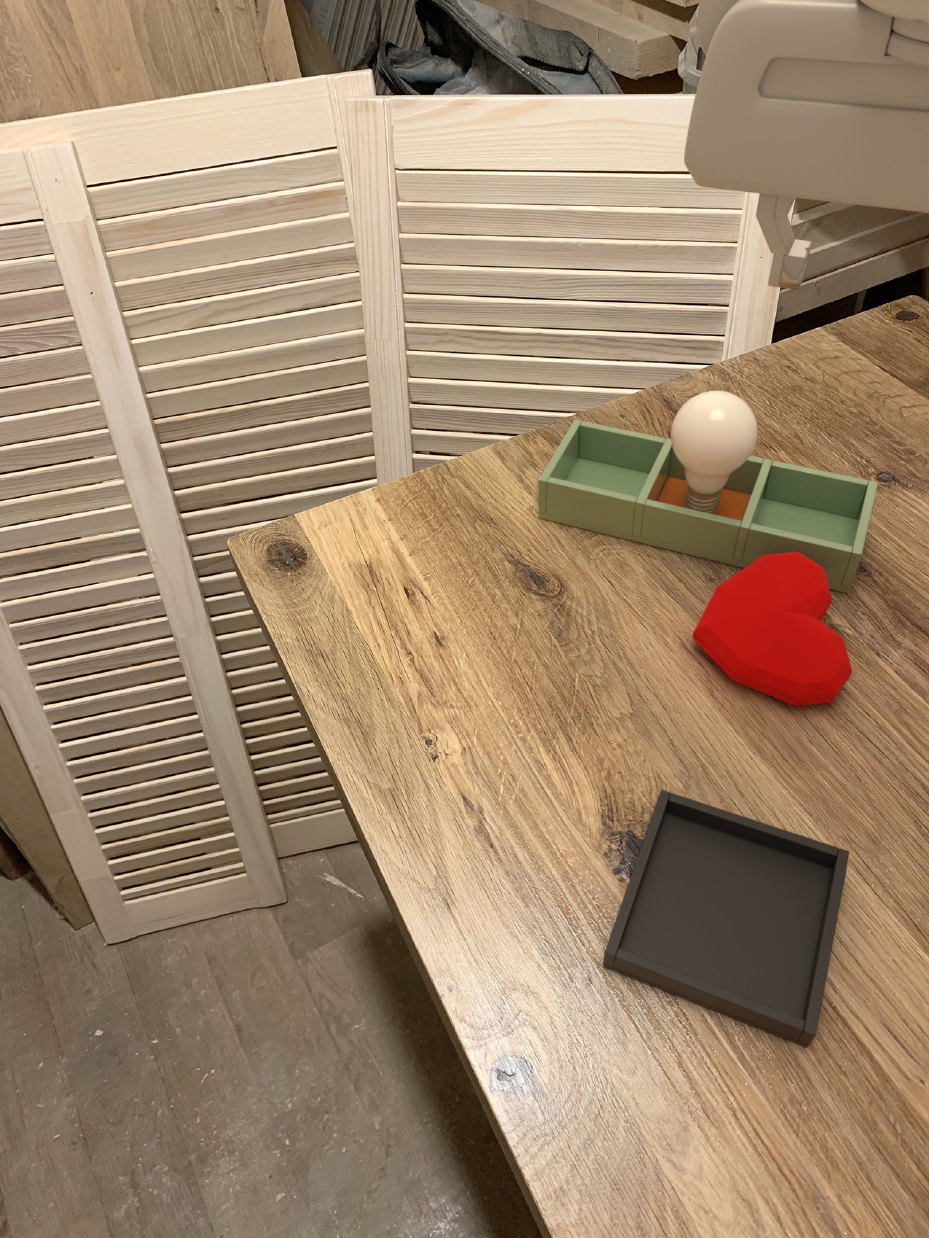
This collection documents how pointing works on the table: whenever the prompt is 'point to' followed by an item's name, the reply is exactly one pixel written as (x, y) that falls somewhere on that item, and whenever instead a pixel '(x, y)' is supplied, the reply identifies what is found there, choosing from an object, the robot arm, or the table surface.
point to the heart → (776, 630)
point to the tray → (731, 916)
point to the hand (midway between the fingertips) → (888, 297)
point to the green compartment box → (736, 534)
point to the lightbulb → (712, 444)
